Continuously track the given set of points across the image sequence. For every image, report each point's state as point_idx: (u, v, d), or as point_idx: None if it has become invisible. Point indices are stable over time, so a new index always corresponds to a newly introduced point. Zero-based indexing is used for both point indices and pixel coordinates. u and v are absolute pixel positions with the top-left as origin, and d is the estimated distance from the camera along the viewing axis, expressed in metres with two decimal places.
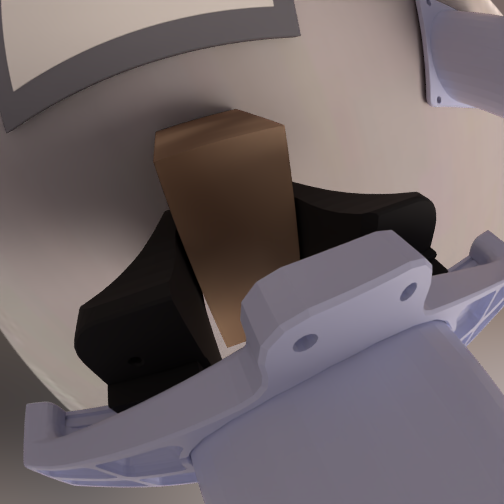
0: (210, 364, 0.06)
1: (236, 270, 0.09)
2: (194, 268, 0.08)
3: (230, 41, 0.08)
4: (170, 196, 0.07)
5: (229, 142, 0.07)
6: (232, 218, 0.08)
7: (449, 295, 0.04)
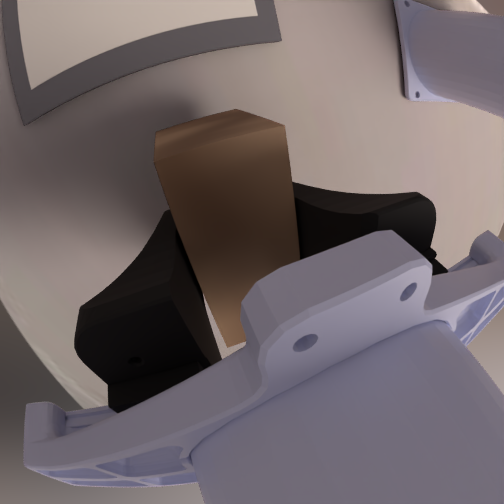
0: (210, 364, 0.06)
1: (236, 270, 0.09)
2: (194, 268, 0.08)
3: (219, 47, 0.10)
4: (170, 196, 0.07)
5: (230, 142, 0.07)
6: (232, 218, 0.08)
7: (449, 295, 0.04)
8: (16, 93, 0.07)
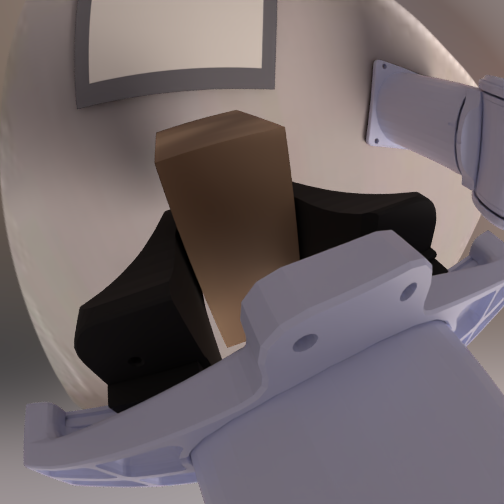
0: (210, 364, 0.06)
1: (236, 270, 0.09)
2: (194, 268, 0.08)
3: (229, 88, 0.16)
4: (171, 196, 0.07)
5: (230, 143, 0.07)
6: (233, 219, 0.08)
7: (449, 295, 0.04)
8: (76, 82, 0.12)
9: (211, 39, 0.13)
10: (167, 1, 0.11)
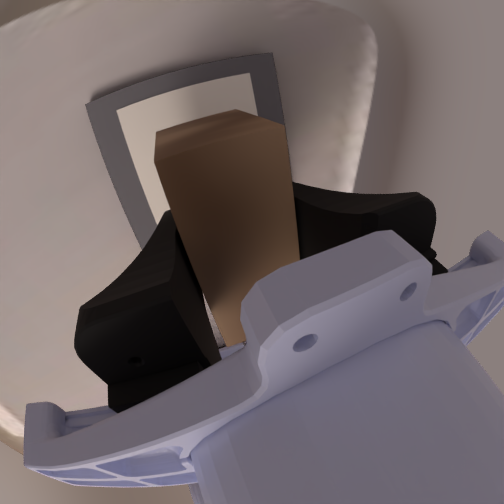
0: (210, 364, 0.06)
1: (236, 270, 0.09)
2: (194, 268, 0.08)
3: None
4: (170, 195, 0.07)
5: (230, 142, 0.07)
6: (233, 217, 0.08)
7: (449, 295, 0.04)
8: (117, 92, 0.11)
9: None
10: None
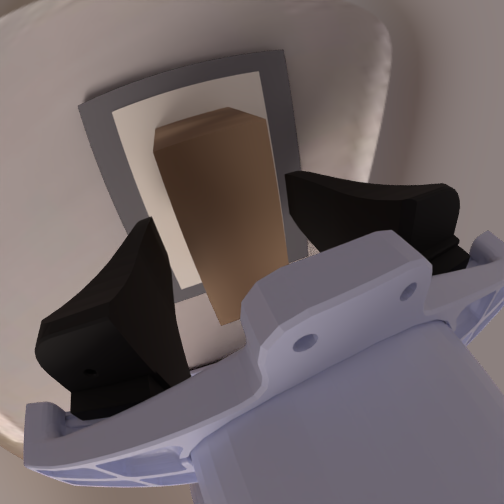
0: (163, 378, 0.06)
1: (227, 249, 0.10)
2: (189, 246, 0.09)
3: None
4: (167, 181, 0.08)
5: (218, 134, 0.08)
6: (222, 201, 0.09)
7: (449, 295, 0.04)
8: (113, 91, 0.10)
9: None
10: None
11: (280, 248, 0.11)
